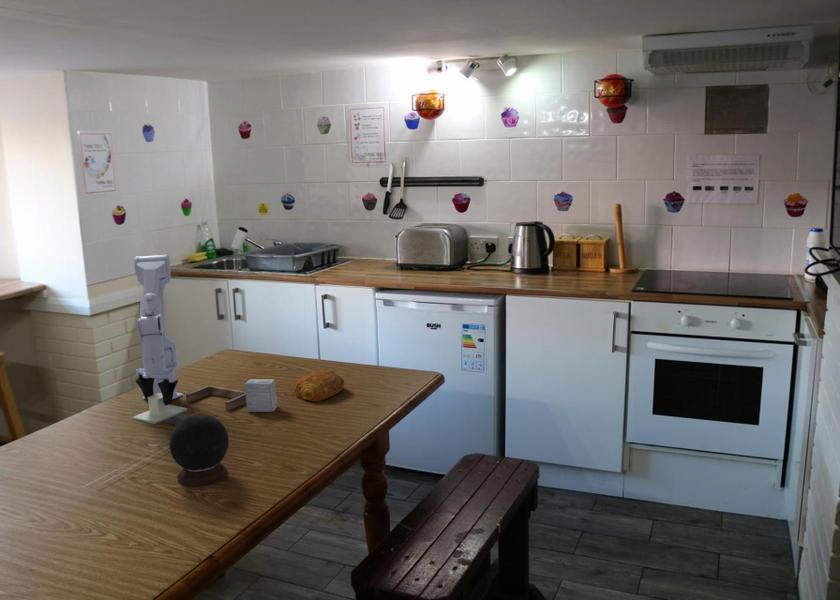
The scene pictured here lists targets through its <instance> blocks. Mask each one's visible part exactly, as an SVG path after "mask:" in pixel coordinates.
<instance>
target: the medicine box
mask: <svg viewBox="0 0 840 600" xmlns="http://www.w3.org/2000/svg"><path fill="white" fill-rule="evenodd" d="M276 385H277V384H276V379H274V378H273V379H272V378H271V379H270V378H266V379H265V378H264V379H263V378H261V379H259V378H258V379H257V378H256V379H255V378H254V379H252V378H251V379H249V380H247V381H246V383H245V384H244V389H245V390H244V392H246V403H245V404H246V411H247V412H248V413H252V412H253V413H259V412H261V413H265V412H267V413H269V412H270V413H273V412H274V411H275V410H276V409H277V408H278V399H277V398H278V396H277V387H276Z"/></svg>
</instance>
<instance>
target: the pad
mask: <svg viewBox="0 0 840 600" xmlns="http://www.w3.org/2000/svg"><path fill="white" fill-rule="evenodd" d="M187 411H188V408H187V407H182V406H178V405H173V404H170V412H168V413H165V414H163V415H161V416H157V415H153V414H150V413H149V410H147V411H144V412H142V413H140V414H137V415H134V416H132V418H131V419H132V420H134V421H135V420H136V421H138V422H139V421H140V422H145V423H148V424H153V425H156V424H159V423H160V422H162V421H163V422H164V421H165V420H168V419H170V418H172V417H175V416H177V415H180V414H182V413H184V412H187Z"/></svg>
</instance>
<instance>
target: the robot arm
mask: <svg viewBox="0 0 840 600" xmlns="http://www.w3.org/2000/svg"><path fill="white" fill-rule="evenodd" d="M133 262H134V264H133V265H134V273H135V275H136V278H137V281H138V282H139V285H142V286H143V290H144V291H143V292H144V295H143V296H141V298H140V300H139V301H140V304H139V305H140V306H139V318H137V333H138V336H139V342H140V344H141V350H142V357H141V358H142V366H143V367H139V368H136V369H135V376H136V377H137V378H135V379H134V380H135V381H134V382H135V383H136V384H137V385H138V386H139V388H140V390H141V392H142V394H143V396H142V399H143V400H145V402H148V397H150V396H153V395H155V394H158V393H161V394H162V396H163V402H164V405H166V406H167V405H169V404H170V405H173V404H172V403H173V400H174V399H176V398H180V397H182V396H183V395H184V394H183V393H180V392H177V384H178V383H179V382H178V381H179V380H178V379H177V374H176V373H175V369H177V367H178V366H179V354H178V350H177V344H176V342H175V341H173V340H171V338H169V337H167V328H166V324H167V323H166V313H165V312H166V309H165V296H164V294H165V293H164V291H165V287H166V285H167V284H169V283H170V282H171V278H172V277H171V263H170V262H171V260H170V256H169V255H168V254H166V253H164V254H158V255H154V254H153V255H142V256H139V255H136V256H135V257H134V260H133Z"/></svg>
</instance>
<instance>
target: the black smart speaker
mask: <svg viewBox="0 0 840 600" xmlns="http://www.w3.org/2000/svg"><path fill="white" fill-rule="evenodd" d="M187 416H188V417H186V418H184V419H183V420H182V421H181V422H179V423H178V424H177V425H175V427H174V428H173V430H172V432H171V434H170V438H169V451H170V455H171V456H172V458H173V460H174V462H175V463H176V464H177V465H178V466H180V468H182V469H180V471H179V473H178V474H177V477H176V478H177V482H178V484H179V485H181V486H183V487H187V488H203V487H208V486H211V485H215V484H217V483H220V482H221V481H223V480H224V479H225V478H227V476H228V468H227V467H226V466H225V465H224V464H223V462H222V461H223V459H224V458H225V456H226V455H227V452H228V449H229V441H230V440H229V434H228V431H227V429H226V427H225V425H224V424H223V423H222V422H221V421H220V420H219V419H218V418H217V417H214V416H212V415H210V414H205V413H196V414H191V415H187ZM221 462H222V463H221Z"/></svg>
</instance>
